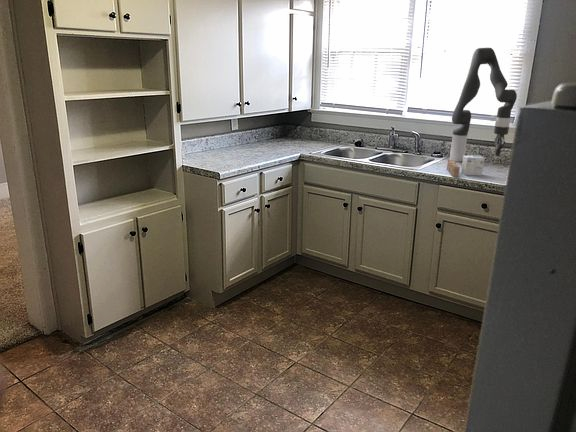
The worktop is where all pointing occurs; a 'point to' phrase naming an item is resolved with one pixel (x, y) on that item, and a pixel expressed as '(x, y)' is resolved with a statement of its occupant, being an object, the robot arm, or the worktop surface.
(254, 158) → the worktop surface
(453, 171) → the orange brown stepped block
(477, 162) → the light bulb box
